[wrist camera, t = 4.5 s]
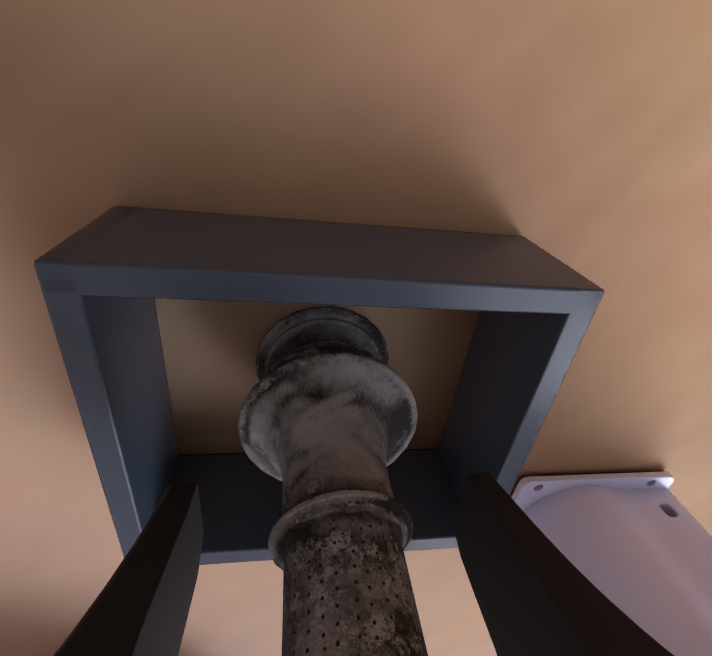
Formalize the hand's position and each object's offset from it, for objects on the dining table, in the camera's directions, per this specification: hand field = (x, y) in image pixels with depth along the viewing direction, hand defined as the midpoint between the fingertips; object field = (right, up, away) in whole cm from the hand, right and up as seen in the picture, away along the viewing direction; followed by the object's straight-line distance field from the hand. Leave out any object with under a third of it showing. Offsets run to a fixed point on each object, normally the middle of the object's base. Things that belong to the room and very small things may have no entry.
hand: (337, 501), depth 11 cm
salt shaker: (-1, +3, +6) cm, 6 cm away
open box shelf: (-1, +3, +5) cm, 6 cm away
